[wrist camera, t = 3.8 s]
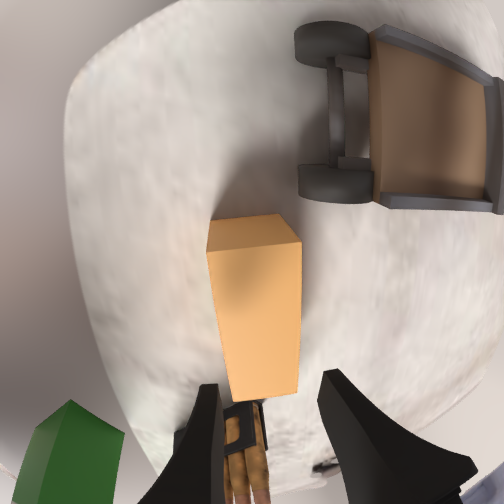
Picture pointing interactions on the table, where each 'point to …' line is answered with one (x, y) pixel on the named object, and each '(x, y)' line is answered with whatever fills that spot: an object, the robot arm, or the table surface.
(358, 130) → the table surface
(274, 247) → the block
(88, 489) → the hardback book
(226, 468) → the ammunition clip
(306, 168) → the dolly
